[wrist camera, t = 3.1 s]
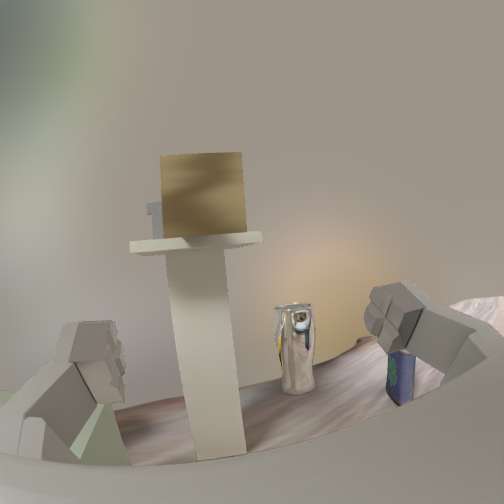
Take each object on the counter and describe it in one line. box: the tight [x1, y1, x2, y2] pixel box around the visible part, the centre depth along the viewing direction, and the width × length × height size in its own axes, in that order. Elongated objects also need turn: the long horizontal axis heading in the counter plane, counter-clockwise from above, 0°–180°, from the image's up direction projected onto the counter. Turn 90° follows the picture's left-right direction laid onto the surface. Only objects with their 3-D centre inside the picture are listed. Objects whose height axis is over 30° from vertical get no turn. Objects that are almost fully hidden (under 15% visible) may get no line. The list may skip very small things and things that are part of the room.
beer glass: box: [273, 303, 316, 395], centre depth 50 cm, size 7×7×15 cm
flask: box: [386, 349, 416, 406], centre depth 40 cm, size 9×3×11 cm, turn 171°
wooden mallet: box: [160, 152, 247, 239], centre depth 24 cm, size 5×13×5 cm, turn 14°
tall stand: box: [130, 202, 262, 461], centre depth 32 cm, size 12×12×30 cm
